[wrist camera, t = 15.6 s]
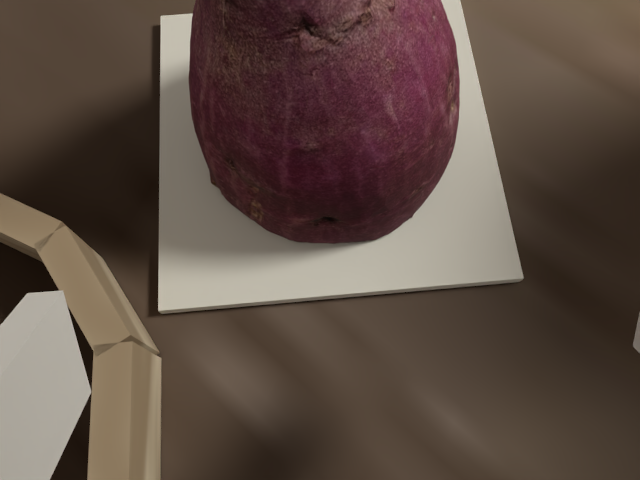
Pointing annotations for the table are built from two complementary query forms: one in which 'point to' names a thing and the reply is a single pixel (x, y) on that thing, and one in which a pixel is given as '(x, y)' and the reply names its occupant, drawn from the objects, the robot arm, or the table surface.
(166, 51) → the white mat
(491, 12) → the table surface
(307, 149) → the vegetable
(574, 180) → the table surface
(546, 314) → the table surface
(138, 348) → the segmented wooden ring
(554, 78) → the table surface
